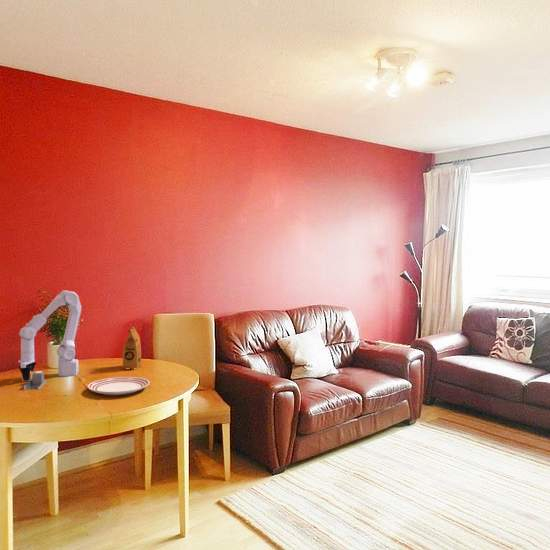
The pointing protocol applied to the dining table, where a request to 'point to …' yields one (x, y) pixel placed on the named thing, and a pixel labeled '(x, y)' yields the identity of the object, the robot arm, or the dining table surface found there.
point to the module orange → (30, 376)
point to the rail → (33, 385)
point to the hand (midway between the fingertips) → (27, 379)
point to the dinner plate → (118, 385)
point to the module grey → (37, 377)
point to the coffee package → (132, 350)
